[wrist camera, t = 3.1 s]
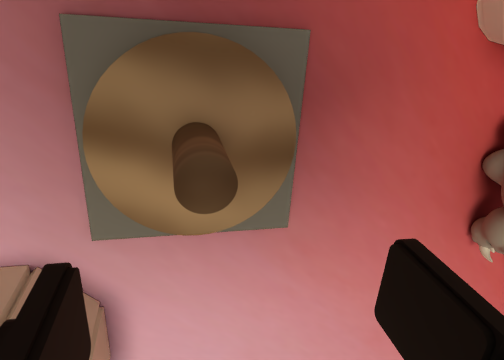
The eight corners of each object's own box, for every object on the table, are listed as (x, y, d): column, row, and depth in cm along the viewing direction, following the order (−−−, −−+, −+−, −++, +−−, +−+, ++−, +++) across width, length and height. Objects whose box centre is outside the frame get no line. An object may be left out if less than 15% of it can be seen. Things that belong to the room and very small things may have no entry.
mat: (62, 13, 19) (59, 13, 18) (307, 29, 22) (310, 29, 21) (93, 236, 24) (92, 240, 24) (285, 223, 28) (287, 227, 27)
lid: (70, 24, 19) (23, 26, 12) (301, 38, 22) (357, 45, 15) (98, 233, 24) (75, 309, 18) (281, 222, 27) (317, 282, 21)
